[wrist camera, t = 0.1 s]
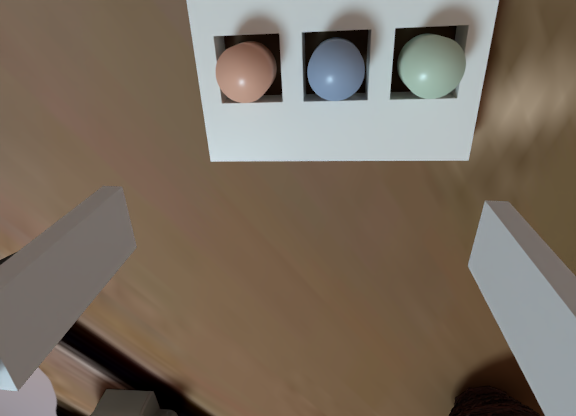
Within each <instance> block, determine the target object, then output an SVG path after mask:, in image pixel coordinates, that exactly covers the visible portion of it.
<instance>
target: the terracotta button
mask: <svg viewBox="0 0 576 416" xmlns="http://www.w3.org/2000/svg"><path fill="white" fill-rule="evenodd" d="M276 72H277V66H276V61H275V58H274V56H273V54H272V52H271V51H270V50H269V49H268V48H267V47H266V46H265V45H263V44H261V43H259V42H256V41H245V42H242V43H240V44H237V45H235V46H232V47H230V48H228V49H226V50H225V51H224V52H223V53H222V54H221V56H220V57H219V59H218V61H217V64H216V80H217V83H218V85H219V87H220V89H221V90H222V92H223V93H224V94H225V95H226V96H227V97H228V98H230V99H231V100H233V101H236V102H239V103H250V102H253V101H256V100H258V99H259V98H260V97H262V96H263V95H264V93H265V92H266V91H267V90H268V88H269V87H270V86H271V85H272V83H273V81H274V79H275V77H276Z"/></svg>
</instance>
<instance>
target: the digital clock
mask: <svg viewBox="0 0 576 416" xmlns="http://www.w3.org/2000/svg"><path fill="white" fill-rule="evenodd" d="M145 401H146V402H145ZM90 416H178V415H177V413H176V412H175V411H173V410H167V409H160V407H159V404H158V402H157V399H156V396H155V394H154V392H153V391H138V390H117V389H106V391H105V393H104V394H103V396H102V398H101V399H100V401H99V403H98V404H97V406H96V408H95V410H94V412H93V413H92V414H91V415H90Z"/></svg>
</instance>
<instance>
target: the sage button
mask: <svg viewBox="0 0 576 416" xmlns="http://www.w3.org/2000/svg"><path fill="white" fill-rule="evenodd" d="M465 68H466V58H465V54H464V51H463V49H462V48H461V46H460V45H459V44H458V43H457V42H455V41H454V40H452V39H450V38H447V37H443V36H440V35H436V34H431V33H426V34H421V35H418V36H416V37H414V38H412V39H411V40H409V41H408V42H407V43H406V44H405V45H404V47H403V48H402V50H401V51H400V54H399V56H398V60H397V71H398V74H399V77H400V79H401V80H402V81H403V83H404V84H405V85H406V86H407V87H408V88H409V89H410V90H411V91H412V92H413V93H414V94H415V95H417V96H419V97H421V98H425V99H435V98H440V97H442V96H445V95H447V94H448V93H450V92H451V91H452V90H454V89H455V88H456V87H457V85H458V84H459V83H460V81H461V79H462V77H463V75H464V72H465Z"/></svg>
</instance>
